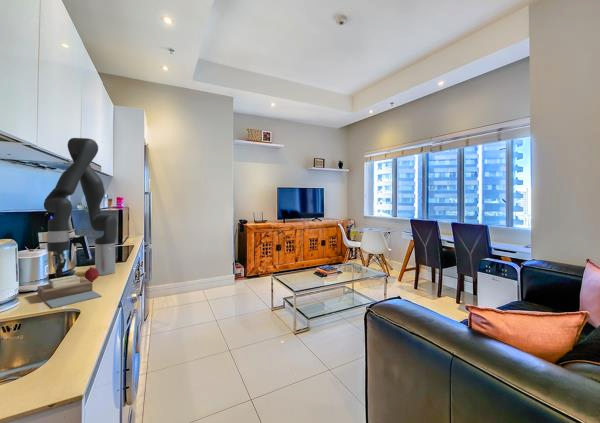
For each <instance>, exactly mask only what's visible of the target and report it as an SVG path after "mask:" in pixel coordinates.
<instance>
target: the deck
mask: <svg viewBox="0 0 600 423" xmlns="http://www.w3.org/2000/svg"><path fill="white" fill-rule="evenodd" d="M79 278H80V283H77V284H72V285H67V286H62V287H57V288H53V287H51V286H50V283H49V284H43V285H42V284H41V285H38V286H37V296H38V297H39V298H40V299H41V300H42V301H43V302H45V301H48V300H53V299H57V298H62V297H66V296H71V295H75V294H80V293H84V292H89V291H93V281H92V282H91V281H89V280H87V279H86V278H85V277H79ZM45 303H46V302H45Z"/></svg>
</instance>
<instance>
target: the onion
mask: <svg viewBox="0 0 600 423" xmlns="http://www.w3.org/2000/svg"><path fill="white" fill-rule="evenodd" d="M99 276H100V275H99V272H98V270H97V269H95V267H93V265H91V266H90V267H89V269H86V271H85V272H84V279H86V280H88V281H90V282H92V283H93V282H94V281H95V280H97V279H98V278H99Z"/></svg>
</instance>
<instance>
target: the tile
mask: <svg viewBox="0 0 600 423" xmlns="http://www.w3.org/2000/svg"><path fill="white" fill-rule="evenodd" d="M80 278H81V277H79V276H78V275H77V274H75V275H68V276H62V277H59V278H57V277H56V278H52V279H51V278H50V279H49V284H50V286H51V287H53V288H57V287H62V286H67V285H72V284H77V283H80Z"/></svg>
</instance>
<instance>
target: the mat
mask: <svg viewBox="0 0 600 423" xmlns="http://www.w3.org/2000/svg"><path fill="white" fill-rule="evenodd" d="M101 297H102V295H101V294H99V293H98V292H96V291H94V290H92V291H89V292H84V293H80V294H75V295H71V296H66V297H62V298H57V299H53V300H48V301H45V303H46V304H47V305H48V306H49V307H50V308H51V309H52V308H53V309H57V308H60V307H65V306H68V305H72V304H76V303H77V304H78V303H81V302H85V301H90V300H94V299H97V298H98V299H99V298H101ZM56 307H57V308H56Z"/></svg>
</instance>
